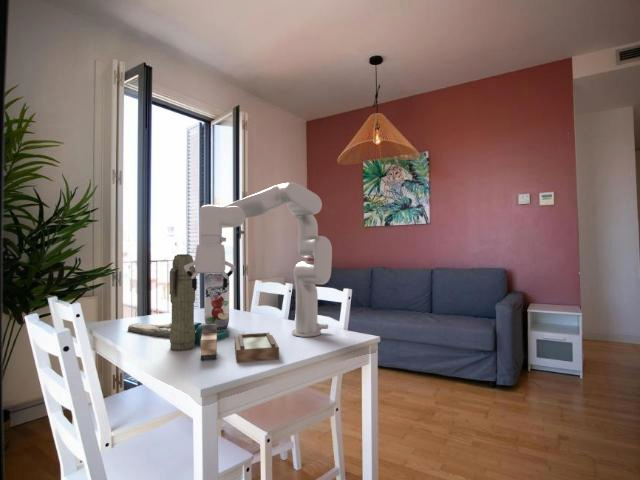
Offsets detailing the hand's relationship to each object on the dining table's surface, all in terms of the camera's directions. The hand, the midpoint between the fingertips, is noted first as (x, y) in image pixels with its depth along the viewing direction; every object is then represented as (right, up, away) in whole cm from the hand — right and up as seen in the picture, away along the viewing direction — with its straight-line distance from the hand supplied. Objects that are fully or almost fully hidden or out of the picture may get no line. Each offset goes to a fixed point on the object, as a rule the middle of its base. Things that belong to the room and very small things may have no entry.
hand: (209, 289), depth 129 cm
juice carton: (-10, -24, +43) cm, 50 cm away
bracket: (-6, -24, +23) cm, 33 cm away
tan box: (0, -23, -1) cm, 23 cm away
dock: (+15, -23, +3) cm, 28 cm away
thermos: (-13, -23, +10) cm, 29 cm away
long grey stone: (-32, -24, +33) cm, 52 cm away
